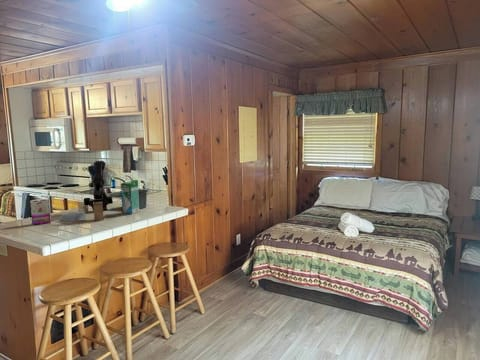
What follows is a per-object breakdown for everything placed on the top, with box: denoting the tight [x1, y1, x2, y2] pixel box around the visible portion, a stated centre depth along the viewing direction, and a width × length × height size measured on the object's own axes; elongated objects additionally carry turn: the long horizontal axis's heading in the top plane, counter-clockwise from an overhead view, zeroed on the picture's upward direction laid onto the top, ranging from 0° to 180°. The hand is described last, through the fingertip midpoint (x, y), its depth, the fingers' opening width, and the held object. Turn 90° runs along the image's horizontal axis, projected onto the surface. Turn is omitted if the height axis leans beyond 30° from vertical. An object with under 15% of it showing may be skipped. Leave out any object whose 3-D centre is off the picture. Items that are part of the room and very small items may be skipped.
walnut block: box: [93, 202, 105, 222], centre depth 247 cm, size 6×6×12 cm
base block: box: [60, 211, 87, 222], centre depth 252 cm, size 11×11×4 cm
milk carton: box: [120, 179, 140, 215], centre depth 269 cm, size 9×9×25 cm
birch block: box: [77, 201, 89, 214], centre depth 273 cm, size 5×5×8 cm
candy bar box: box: [29, 198, 52, 226], centre depth 240 cm, size 11×5×16 cm, turn 117°
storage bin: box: [119, 188, 149, 210], centre depth 290 cm, size 21×16×14 cm
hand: (98, 210), depth 246 cm, fingers closed on walnut block, 5 cm apart
